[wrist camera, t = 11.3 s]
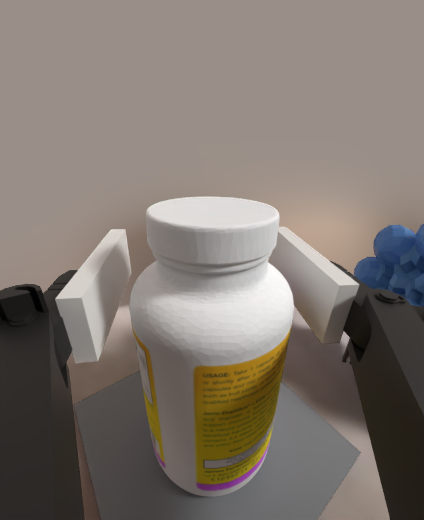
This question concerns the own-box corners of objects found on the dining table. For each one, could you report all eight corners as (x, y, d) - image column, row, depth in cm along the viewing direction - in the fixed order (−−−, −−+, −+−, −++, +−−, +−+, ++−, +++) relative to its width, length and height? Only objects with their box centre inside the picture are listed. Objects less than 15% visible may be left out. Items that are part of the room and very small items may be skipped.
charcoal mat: (221, 331, 22) (221, 328, 22) (358, 456, 13) (360, 452, 13) (75, 408, 15) (73, 404, 15) (158, 760, 7) (158, 761, 6)
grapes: (299, 337, 21) (332, 202, 16) (357, 322, 23) (403, 198, 18) (452, 506, 11) (668, 299, 6) (530, 455, 13) (742, 266, 8)
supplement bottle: (281, 405, 15) (325, 201, 10) (241, 542, 10) (288, 264, 4) (193, 362, 18) (188, 187, 12) (125, 451, 13) (65, 215, 7)
